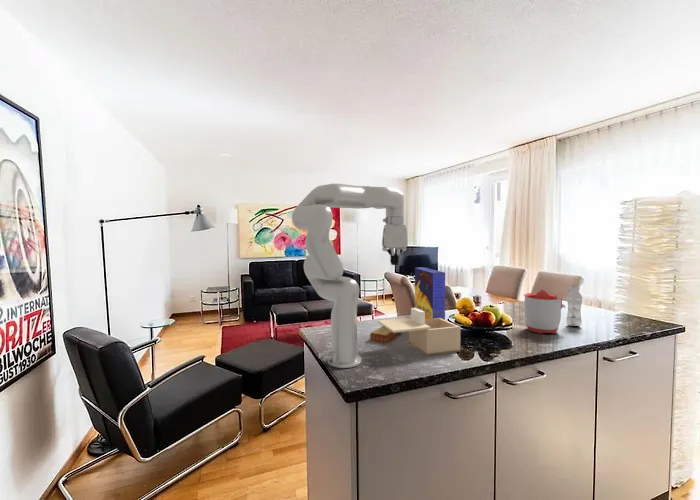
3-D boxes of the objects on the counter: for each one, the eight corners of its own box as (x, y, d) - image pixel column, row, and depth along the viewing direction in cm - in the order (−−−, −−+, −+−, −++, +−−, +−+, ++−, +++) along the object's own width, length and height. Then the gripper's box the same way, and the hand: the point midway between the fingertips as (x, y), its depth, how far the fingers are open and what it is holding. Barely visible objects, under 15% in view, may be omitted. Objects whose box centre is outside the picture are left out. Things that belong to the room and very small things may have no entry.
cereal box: (414, 326, 173) (414, 267, 171) (426, 325, 174) (426, 267, 172) (432, 339, 151) (432, 272, 150) (444, 338, 152) (445, 272, 151)
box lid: (393, 332, 126) (393, 317, 126) (377, 322, 141) (377, 308, 141) (430, 328, 131) (430, 314, 131) (411, 319, 146) (411, 305, 146)
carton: (369, 342, 150) (369, 332, 150) (385, 332, 164) (385, 323, 163) (387, 344, 146) (387, 335, 145) (401, 335, 159) (401, 326, 159)
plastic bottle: (562, 325, 171) (563, 286, 170) (572, 324, 173) (573, 285, 172) (574, 329, 165) (575, 288, 164) (585, 327, 167) (586, 287, 166)
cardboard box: (427, 355, 131) (427, 330, 131) (409, 343, 146) (409, 320, 145) (460, 351, 136) (460, 326, 135) (439, 340, 150) (439, 317, 150)
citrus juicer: (571, 336, 153) (572, 292, 152) (530, 335, 156) (531, 292, 155) (556, 327, 168) (557, 287, 167) (519, 326, 171) (519, 286, 170)
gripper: (381, 220, 138) (380, 265, 139) (414, 221, 142) (414, 265, 143) (375, 221, 145) (374, 264, 146) (407, 222, 149) (406, 263, 150)
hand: (394, 264), depth 145 cm, fingers closed
